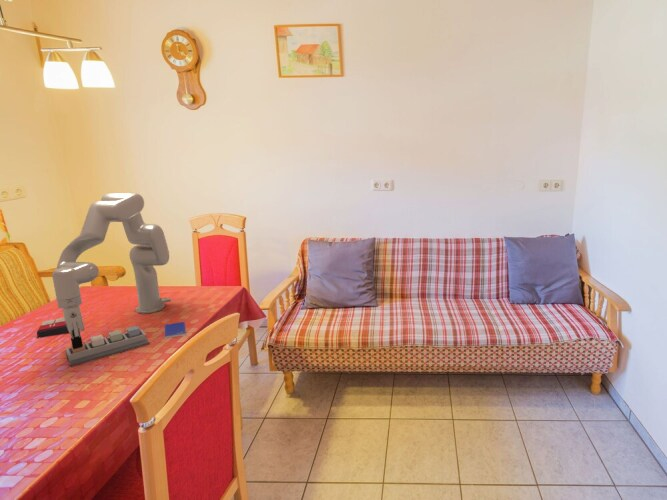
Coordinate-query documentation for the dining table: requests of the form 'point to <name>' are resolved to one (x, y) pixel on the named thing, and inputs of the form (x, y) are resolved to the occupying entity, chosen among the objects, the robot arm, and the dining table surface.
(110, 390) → the dining table surface
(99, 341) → the key
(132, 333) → the key
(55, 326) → the calculator
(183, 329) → the hard drive
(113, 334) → the key
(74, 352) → the key
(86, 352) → the keypad
